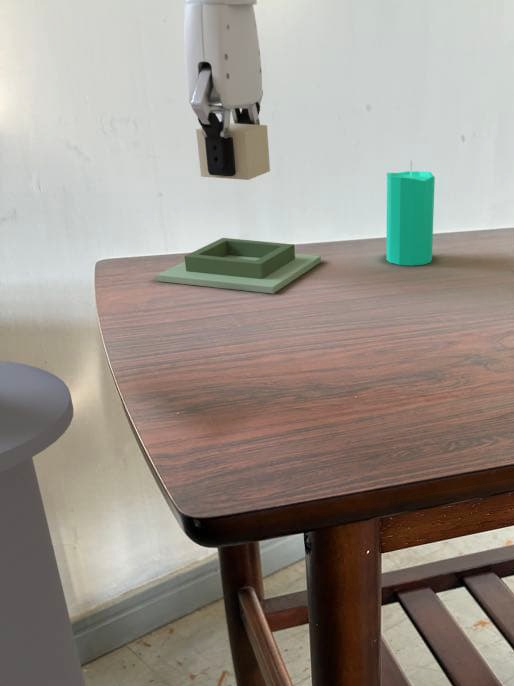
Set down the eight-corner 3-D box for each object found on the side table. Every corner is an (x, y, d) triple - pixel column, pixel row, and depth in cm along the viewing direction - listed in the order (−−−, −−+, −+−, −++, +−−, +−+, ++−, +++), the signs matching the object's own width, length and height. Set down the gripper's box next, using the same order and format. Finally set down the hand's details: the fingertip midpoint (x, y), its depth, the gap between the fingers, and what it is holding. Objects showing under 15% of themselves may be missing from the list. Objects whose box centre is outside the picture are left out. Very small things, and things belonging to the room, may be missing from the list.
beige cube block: (248, 180, 99) (244, 131, 96) (200, 176, 100) (195, 129, 98) (270, 171, 104) (267, 125, 101) (224, 168, 105) (220, 122, 103)
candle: (387, 265, 112) (388, 164, 105) (385, 253, 117) (385, 157, 110) (434, 265, 112) (438, 165, 106) (429, 253, 117) (432, 157, 111)
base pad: (273, 293, 100) (272, 271, 99) (157, 281, 104) (154, 259, 102) (321, 262, 112) (320, 241, 111) (215, 252, 116) (213, 231, 115)
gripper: (224, -12, 100) (238, 157, 110) (145, -13, 86) (169, 181, 96) (285, -11, 98) (293, 160, 108) (214, -12, 84) (231, 185, 94)
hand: (235, 168), depth 102 cm, fingers closed on beige cube block, 6 cm apart
